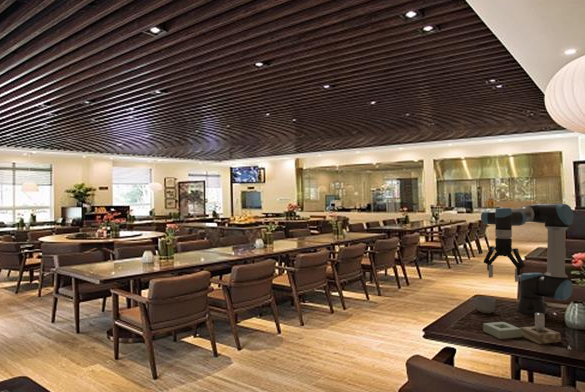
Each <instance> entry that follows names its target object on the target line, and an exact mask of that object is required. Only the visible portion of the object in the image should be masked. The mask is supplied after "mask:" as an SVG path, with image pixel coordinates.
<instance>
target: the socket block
mask: <svg viewBox="0 0 585 392" xmlns="http://www.w3.org/2000/svg"><path fill="white" fill-rule="evenodd" d="M482 324H483V328H482V330H483V332H484V333H485V334H489V335H491V336H493V337H495V338H497V339H499V340H505V339H513V338H522V336H521V329H520V327H518V326H515V325H513V324H511V323H508V322H505V321H498V322H497V321H495V322H487V323H486V322H485V323H484V322H483V323H482Z"/></svg>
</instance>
